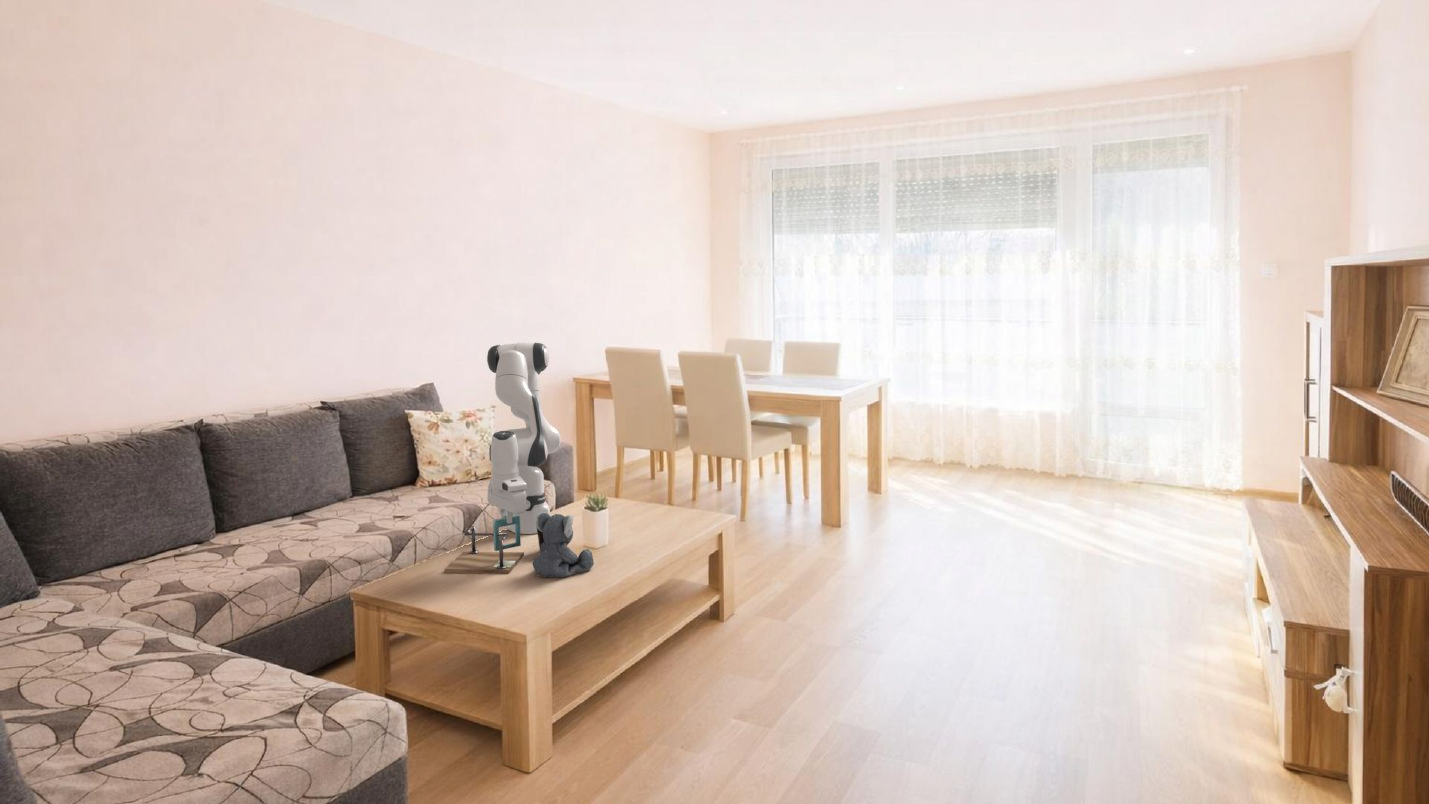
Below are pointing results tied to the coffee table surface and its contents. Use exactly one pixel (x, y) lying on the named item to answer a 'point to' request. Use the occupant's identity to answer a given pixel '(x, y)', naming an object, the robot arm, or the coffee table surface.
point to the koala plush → (559, 548)
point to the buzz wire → (487, 535)
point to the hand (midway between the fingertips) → (506, 522)
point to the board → (484, 562)
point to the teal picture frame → (501, 523)
